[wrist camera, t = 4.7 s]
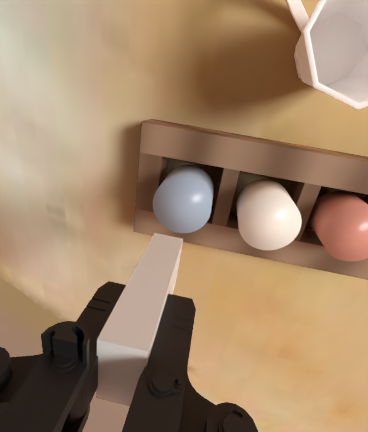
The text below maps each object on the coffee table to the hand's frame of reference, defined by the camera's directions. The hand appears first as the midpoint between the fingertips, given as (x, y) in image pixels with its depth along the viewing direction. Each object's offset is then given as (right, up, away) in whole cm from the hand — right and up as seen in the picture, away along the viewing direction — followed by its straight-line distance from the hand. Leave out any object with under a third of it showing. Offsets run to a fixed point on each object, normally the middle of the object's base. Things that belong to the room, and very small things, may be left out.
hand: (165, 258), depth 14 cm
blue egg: (+1, +5, +9) cm, 11 cm away
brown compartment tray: (+8, +4, +11) cm, 14 cm away
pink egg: (+14, +2, +9) cm, 17 cm away
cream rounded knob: (+8, +3, +9) cm, 12 cm away
